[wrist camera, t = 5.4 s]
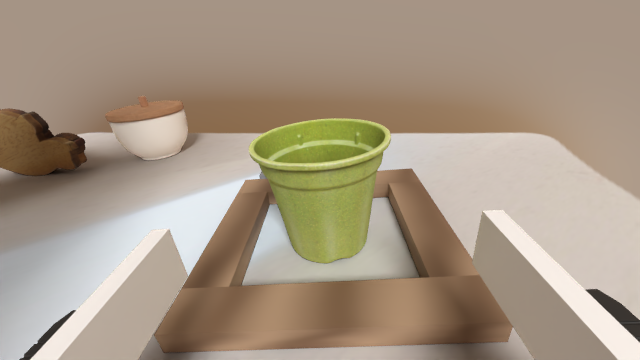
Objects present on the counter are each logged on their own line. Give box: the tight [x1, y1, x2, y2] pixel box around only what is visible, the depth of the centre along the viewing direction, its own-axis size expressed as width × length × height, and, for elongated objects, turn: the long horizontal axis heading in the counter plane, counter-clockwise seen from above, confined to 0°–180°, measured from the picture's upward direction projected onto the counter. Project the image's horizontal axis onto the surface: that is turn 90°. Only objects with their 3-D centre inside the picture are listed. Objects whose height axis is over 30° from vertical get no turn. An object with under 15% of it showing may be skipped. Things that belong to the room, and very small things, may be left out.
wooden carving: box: [0, 109, 87, 176], centre depth 41 cm, size 16×5×10 cm, turn 89°
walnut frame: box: [154, 169, 513, 353], centre depth 22 cm, size 18×18×2 cm
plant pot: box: [249, 119, 391, 263], centre depth 21 cm, size 9×9×9 cm
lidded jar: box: [105, 96, 188, 160], centre depth 45 cm, size 11×11×9 cm
